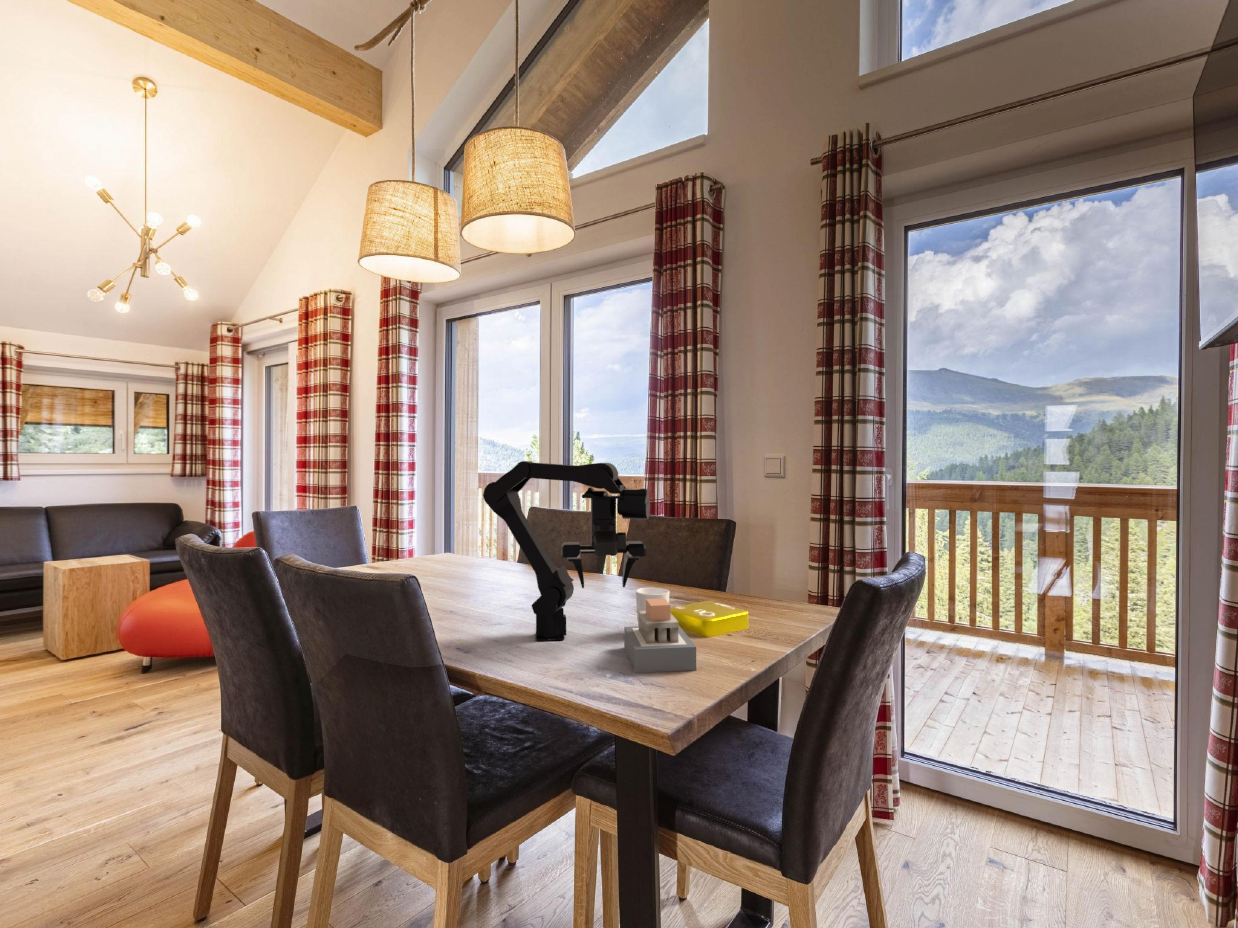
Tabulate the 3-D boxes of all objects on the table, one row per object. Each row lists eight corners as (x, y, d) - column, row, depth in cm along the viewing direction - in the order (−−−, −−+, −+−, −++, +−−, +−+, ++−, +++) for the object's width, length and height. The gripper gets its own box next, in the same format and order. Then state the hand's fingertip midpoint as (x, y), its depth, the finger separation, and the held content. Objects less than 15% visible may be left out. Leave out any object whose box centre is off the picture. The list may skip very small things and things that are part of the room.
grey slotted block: (646, 643, 122) (646, 623, 122) (638, 629, 132) (638, 610, 132) (678, 642, 123) (678, 622, 123) (668, 628, 133) (668, 609, 133)
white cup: (657, 640, 140) (657, 596, 140) (629, 634, 145) (629, 591, 145) (675, 632, 146) (675, 590, 146) (648, 626, 151) (648, 586, 151)
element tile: (752, 629, 151) (752, 609, 151) (707, 639, 142) (707, 618, 142) (709, 616, 163) (709, 598, 163) (665, 625, 154) (665, 606, 154)
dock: (635, 672, 119) (634, 648, 119) (624, 647, 135) (624, 626, 135) (696, 669, 120) (696, 646, 120) (678, 645, 136) (678, 624, 136)
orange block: (650, 620, 124) (650, 605, 124) (645, 613, 130) (645, 598, 130) (670, 619, 125) (670, 604, 125) (664, 612, 131) (664, 598, 131)
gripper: (562, 522, 131) (562, 596, 131) (650, 521, 133) (650, 594, 133) (561, 517, 142) (561, 585, 142) (642, 516, 144) (642, 583, 144)
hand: (603, 587), depth 140 cm, fingers open, 9 cm apart
